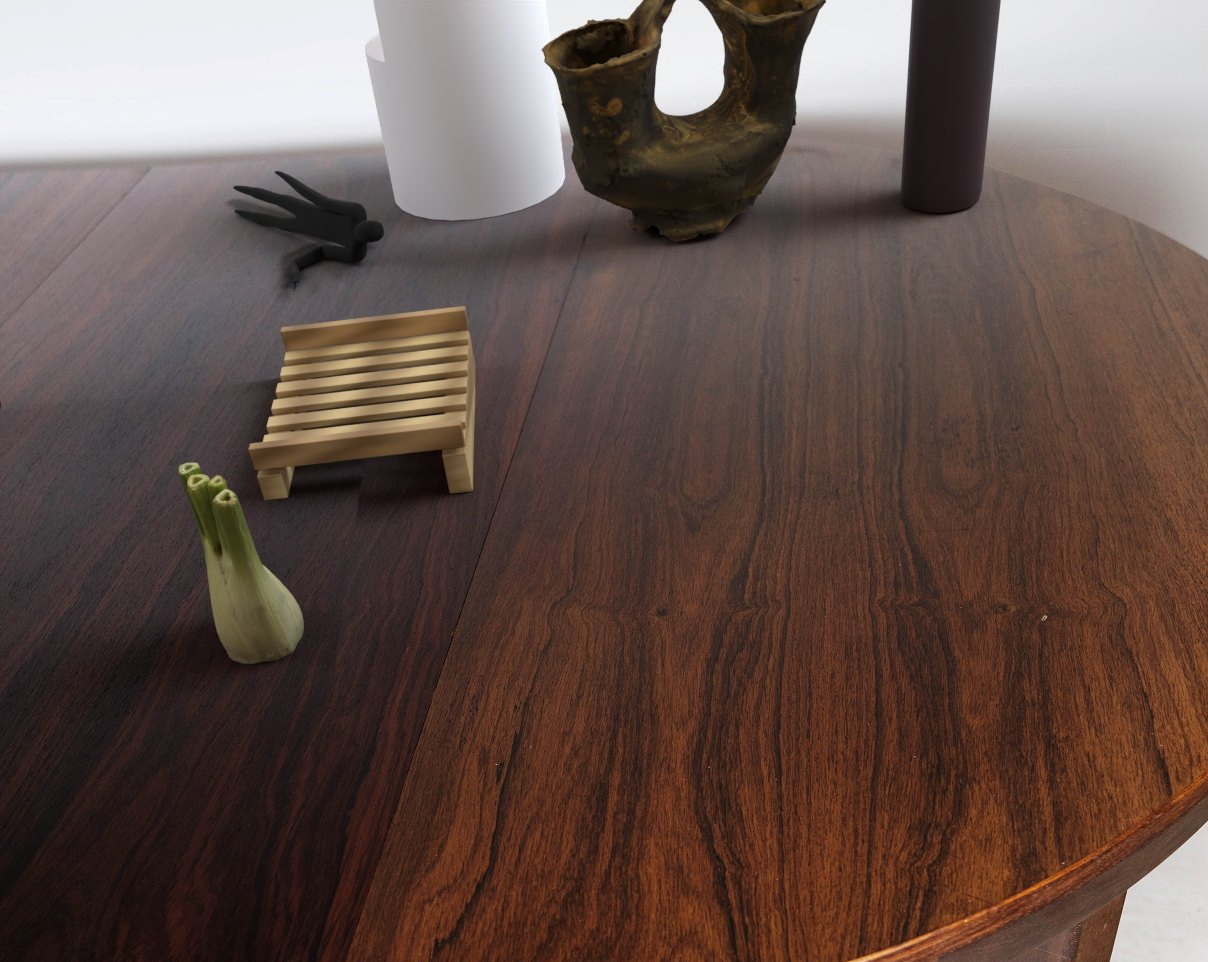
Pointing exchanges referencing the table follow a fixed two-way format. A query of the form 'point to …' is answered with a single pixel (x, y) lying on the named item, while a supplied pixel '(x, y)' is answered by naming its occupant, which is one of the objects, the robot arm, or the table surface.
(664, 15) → the pottery vessel
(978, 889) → the table surface
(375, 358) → the drying rack
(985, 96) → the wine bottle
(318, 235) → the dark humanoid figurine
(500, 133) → the cylinder
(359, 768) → the table surface
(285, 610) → the fennel bulb
